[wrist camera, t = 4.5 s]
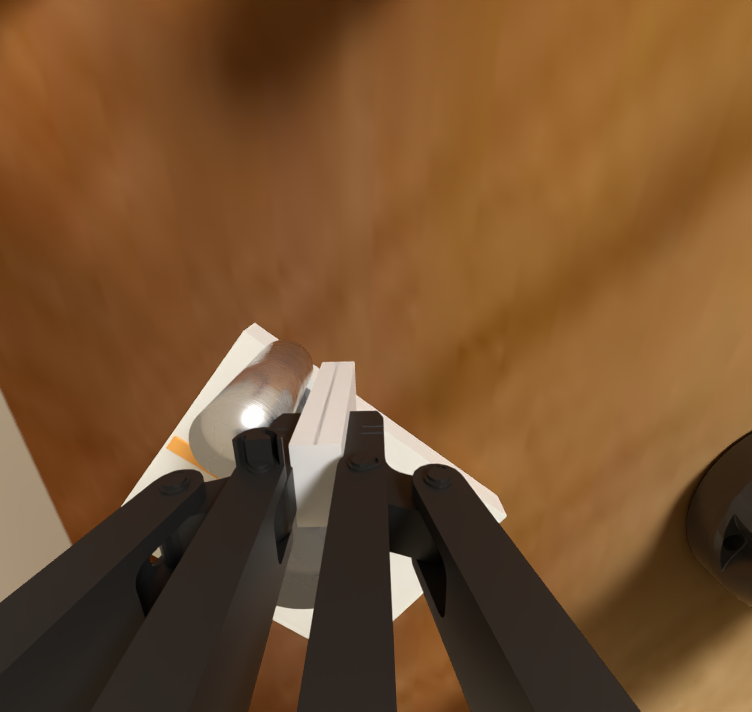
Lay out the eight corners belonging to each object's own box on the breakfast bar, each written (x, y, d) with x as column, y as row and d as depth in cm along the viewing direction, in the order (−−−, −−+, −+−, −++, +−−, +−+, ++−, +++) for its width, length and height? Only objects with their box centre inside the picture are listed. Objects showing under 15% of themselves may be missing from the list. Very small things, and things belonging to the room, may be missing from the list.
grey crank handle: (376, 579, 25) (376, 730, 17) (243, 582, 25) (186, 734, 18) (366, 336, 20) (361, 399, 12) (200, 341, 20) (91, 407, 12)
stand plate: (497, 495, 26) (507, 517, 24) (351, 634, 30) (349, 662, 28) (254, 322, 22) (242, 331, 20) (124, 508, 26) (103, 530, 24)
